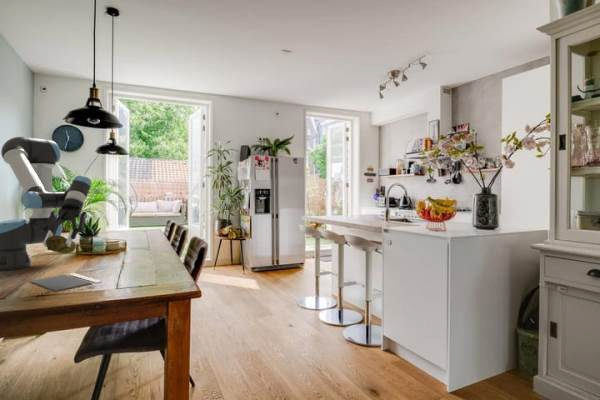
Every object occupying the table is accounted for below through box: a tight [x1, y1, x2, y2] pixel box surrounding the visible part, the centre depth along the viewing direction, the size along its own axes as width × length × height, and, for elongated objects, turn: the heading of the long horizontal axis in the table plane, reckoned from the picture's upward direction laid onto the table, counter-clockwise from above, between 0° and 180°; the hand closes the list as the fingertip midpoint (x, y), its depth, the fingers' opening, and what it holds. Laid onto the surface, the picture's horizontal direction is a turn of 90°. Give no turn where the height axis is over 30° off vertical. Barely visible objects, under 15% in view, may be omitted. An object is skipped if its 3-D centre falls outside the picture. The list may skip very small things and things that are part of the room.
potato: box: [46, 235, 77, 254], centre depth 143 cm, size 8×13×8 cm, turn 157°
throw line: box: [68, 272, 103, 284], centre depth 151 cm, size 24×2×1 cm, turn 57°
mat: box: [29, 274, 93, 292], centre depth 143 cm, size 24×13×1 cm, turn 57°
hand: (56, 244), depth 139 cm, fingers closed on potato, 7 cm apart
